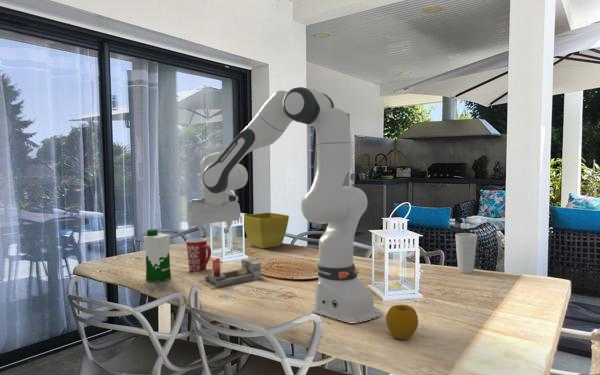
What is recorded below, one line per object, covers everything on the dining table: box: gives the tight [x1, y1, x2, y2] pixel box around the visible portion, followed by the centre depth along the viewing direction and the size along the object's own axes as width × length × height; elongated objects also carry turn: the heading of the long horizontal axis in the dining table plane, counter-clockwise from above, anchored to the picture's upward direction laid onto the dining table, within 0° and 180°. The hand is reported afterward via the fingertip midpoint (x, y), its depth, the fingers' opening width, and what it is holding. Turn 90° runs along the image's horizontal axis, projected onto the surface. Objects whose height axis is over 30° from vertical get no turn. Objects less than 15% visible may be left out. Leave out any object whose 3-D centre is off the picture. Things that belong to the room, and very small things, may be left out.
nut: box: [237, 266, 248, 276], centre depth 172 cm, size 4×4×4 cm
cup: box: [455, 232, 478, 274], centre depth 180 cm, size 8×8×16 cm
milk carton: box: [142, 228, 172, 282], centre depth 177 cm, size 9×9×20 cm
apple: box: [385, 304, 419, 340], centre depth 117 cm, size 8×8×9 cm
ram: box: [207, 257, 226, 285], centre depth 165 cm, size 7×4×9 cm, turn 36°
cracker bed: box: [197, 257, 265, 291], centre depth 169 cm, size 14×22×8 cm, turn 126°
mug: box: [185, 237, 212, 273], centre depth 187 cm, size 13×9×14 cm
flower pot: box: [243, 212, 290, 249], centre depth 238 cm, size 19×19×17 cm
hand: (215, 234), depth 164 cm, fingers open, 8 cm apart
